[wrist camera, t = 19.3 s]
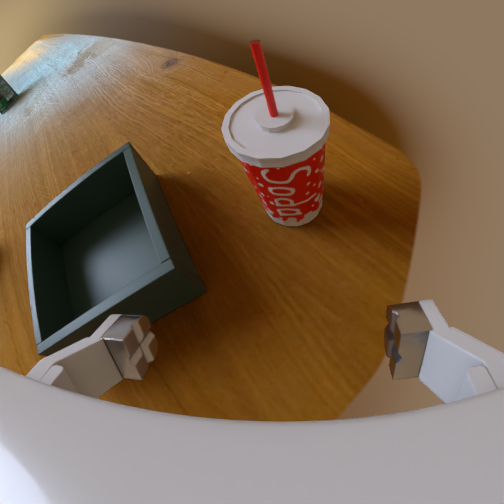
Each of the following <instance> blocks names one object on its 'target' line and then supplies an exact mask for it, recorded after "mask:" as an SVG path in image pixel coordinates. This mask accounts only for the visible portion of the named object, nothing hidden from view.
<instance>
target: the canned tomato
mask: <svg viewBox="0 0 504 504" xmlns="http://www.w3.org/2000/svg"><path fill="white" fill-rule="evenodd" d="M17 97H18V94H17V93H16V92H15V91H14V90H13V89H12V88H11V86H10V85H9V84H8V83H7V82H6V81H5V80H4V79H3V77H2V76H1V75H0V113H1V114H4V113H5V112H6V111H7V110H8V109H9V108H10V107H11V105H12V104H13V103H14V102H15V100H16V99H17Z"/></svg>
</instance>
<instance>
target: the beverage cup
mask: <svg viewBox="0 0 504 504" xmlns="http://www.w3.org/2000/svg"><path fill="white" fill-rule="evenodd" d="M250 46H251V49H252V53H253V57H254V60H255V63H256V67H257V70H258V74H259V77H260V81H261V85H262V88H263V89H261V90H258V91H255V92H252V93H250V94H248V95H247V96H245V97H243V98H242V99H240V100H239V101H237V102H235V104H234V105H233V106H232V107H231V108H230V110H229V111H228V112H227V113H226V114H225V117H224V121H223V124H222V128H221V129H222V133H223V136H224V139H225V142H226V145H227V146H228V147H229V149H230V152H232V153H233V154H234V155H235V156H236V157H237V158H238V159H239V160H240V162H241V163H242V165H243V167H244V169H245V171H246V173H247V175H248V177H249V179H250V181H251V182H252V184H253V186H254V188H255V190H256V192H257V194H258V196H259V198H260V200H261V202H262V204H263V206H264V208H265V210H266V212H267V213H268V215H269V216H270V217H271V218H272V219H273V220H274V221H275V222H276V223H279V224H281V225H284V226H297V227H298V226H301V225H303V224H306V223H309V222H310V221H311V220H313V219H314V218H315V217H316V216H317V215H318V213H319V211H320V209H321V207H322V200H323V183H324V162H325V141H326V140H327V138H328V136H329V134H330V117H329V108H328V107H327V106H326V104H325V103H324V102H323V100H322V99H321V98H320V97H319V96H317V95H315V94H314V93H312V92H310V91H308V90H306V89H302V88H297V87H292V86H277V87H272V85H271V81H270V78H269V74H268V70H267V66H266V62H265V58H264V54H263V51H262V47H261V44H260V40H252V41H251V42H250Z"/></svg>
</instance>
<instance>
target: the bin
mask: <svg viewBox="0 0 504 504" xmlns="http://www.w3.org/2000/svg"><path fill="white" fill-rule="evenodd" d="M26 256H27V274H28V287H29V297H30V305H31V313H32V320H33V327H34V333H35V339H36V344H37V349H38V354H39V355H43V356H50V355H52V354H54V353H56V352H58V351H60V350H62V349H64V348H66V347H68V346H70V345H72V344H74V343H76V342H78V341H80V340H82V339H84V338H86V337H89V338H90V337H91V336H92V334H93V333H94V332H95V331H96V330H97V329H98V328H99V327H100V326H101V325H102V323H103V322H104V321H105V320H106V319H107V318H108V317H109V316H110V315H113V314H122V315H141V316H146V317H148V318H149V321H150V323H153V322H155V321H156V320H158V319H160V318H162V317H163V316H165V315H167V314H169V313H170V312H172V311H174V310H176V309H177V308H179V307H181V306H183V305H184V304H186V303H188V302H189V301H191V300H193V299H195V298H196V297H198V296H200V295H202V294H203V293H205V292H207V291H206V289H205V286H204V284H203V282H202V280H201V278H200V276H199V274H198V271H197V269H196V267H195V265H194V263H193V261H192V258H191V256H190V254H189V252H188V249H187V247H186V245H185V243H184V240H183V238H182V236H181V234H180V231H179V229H178V227H177V225H176V222H175V220H174V218H173V215H172V213H171V211H170V208H169V206H168V203H167V201H166V199H165V196H164V194H163V191H162V189H161V187H160V184H159V182H158V179H157V177H156V174H155V173H154V172H153V171H152V170H151V169H150V167H149V166H148V165H147V164H146V162H145V161H144V160H143V159H142V157H141V156H140V155H139V154H138V152H137V151H136V150H135V149H134V147H133V146H132V145H131V144H130V142H128V143H126V144H125V145H123V146H122V147H120V148H119V149H117V150H116V151H115V152H113V153H112V154H110V155H109V156H108V157H106V158H105V159H104V160H102V161H101V162H99V163H98V164H97V165H95V166H94V167H93V168H92V169H90V170H89V171H88V172H86V173H85V174H84V175H83V176H81V177H80V178H79V179H77V180H76V181H75V182H74V183H73V184H71V185H70V186H69V187H68V188H66V189H65V190H64V191H63V192H62V193H61V194H59V195H58V196H57V197H56V198H55V199H54V200H52V201H51V202H50V203H49V204H48V205H47V206H46V207H45V208H43V209H42V210H41V211H40V212H39V213H38V214H37V215H36V216H35V217H34V218H33V219H32V220H30V221H29V222H28V223H27V224H26Z"/></svg>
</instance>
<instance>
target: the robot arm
mask: <svg viewBox="0 0 504 504" xmlns="http://www.w3.org/2000/svg"><path fill="white" fill-rule="evenodd" d="M386 318H387V321H388V325H387V326H386V327H385V331H384V346H385V352H386V356H387V357H389V358H390V363H389V367H390V371H391V375H392V379H393V380H400V379H409V378H416V377H418V379H419V380H421V381H422V382H423V383H424V384H425V385H426V386H427V387H428V388H429V389H430V390H432V391H433V392H434V393H435V394H436V395H437V396H438V397H439V398H440V399H441V400H443V401H444V402H445V404H441V405H436V406H432V407H427V408H422V409H417V410H412V411H406V412H399V413H393V414H386V415H379V416H371V417H363V418H352V419H340V420H324V421H245V420H228V419H215V418H205V417H195V416H187V415H179V414H172V413H165V412H159V411H153V410H147V409H142V408H137V407H131V406H127V405H122V404H117V403H113V402H109V401H104V400H100V399H97V398H98V397H100V396H101V395H102V394H104V393H105V392H106V391H108V390H109V389H110V388H112V387H113V386H114V385H116V384H117V383H118V382H120V381H121V380H122V379H123V378H128V379H136V380H142V379H143V377H144V376H145V374H146V372H147V371H148V369H149V365H148V363H150V362H151V361H153V360H154V359H155V357H156V356H157V352H158V341H157V338H156V336H155V335H154V334H153V333H152V332H151V331H150V329H151V326H152V325H151V323H150V321H149V318H148V317H146V316H141V315H122V314H113V315H110V316H109V317H108V318H107V319H106V320H105V321H104V322H103V323H102V325H101V326H100V327H99V328H98V329H97V330H96V331H95V332H94V333H93V334H92V336H91V337H90V338H89V337H86V338H84V339H82V340H80V341H78V342H76V343H74V344H72V345H70V346H68V347H66V348H64V349H62V350H60V351H58V352H56V353H54V354H52V355H50V356H47V357H45V358H43V359H41V360H40V361H39V362H38V363H37V364H36V365H35V366H34V368H33V369H32V370H31V371H30V372H29V373H28V374H27V375H26V376H24V375H21V374H18V373H16V372H13V371H11V370H9V369H6V368H4V367H1V366H0V504H504V353H502V352H500V351H498V350H496V349H495V348H493V347H491V346H489V345H487V344H485V343H483V342H481V341H479V340H478V339H476V338H474V337H472V336H470V335H468V334H466V333H464V332H462V331H460V330H459V329H457V328H455V327H450V328H449V326H448V325H447V322H446V321H445V319H444V318H443V316H442V314H441V312H440V311H439V309H438V308H437V306H436V304H435V303H434V301H433V300H432V299H427V300H421V301H417V302H410V303H402V304H395V305H388V306H387V310H386Z"/></svg>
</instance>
